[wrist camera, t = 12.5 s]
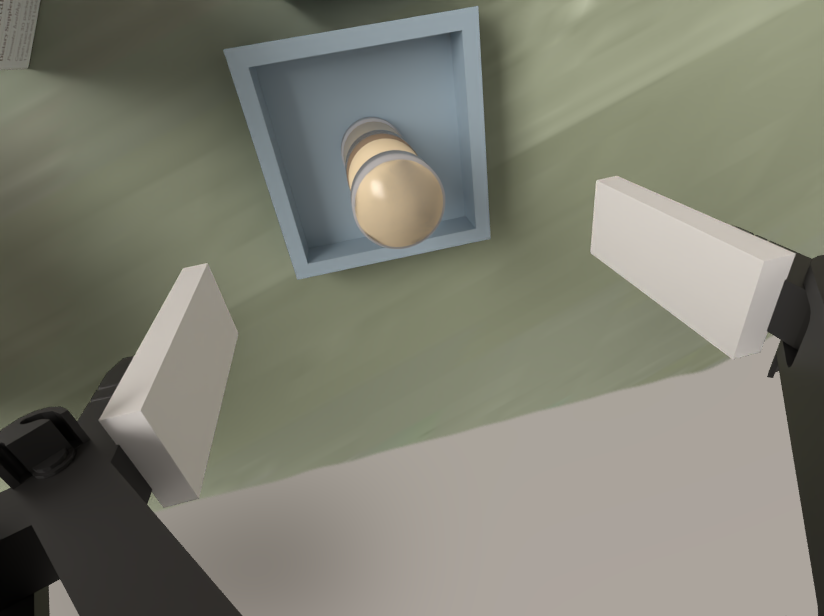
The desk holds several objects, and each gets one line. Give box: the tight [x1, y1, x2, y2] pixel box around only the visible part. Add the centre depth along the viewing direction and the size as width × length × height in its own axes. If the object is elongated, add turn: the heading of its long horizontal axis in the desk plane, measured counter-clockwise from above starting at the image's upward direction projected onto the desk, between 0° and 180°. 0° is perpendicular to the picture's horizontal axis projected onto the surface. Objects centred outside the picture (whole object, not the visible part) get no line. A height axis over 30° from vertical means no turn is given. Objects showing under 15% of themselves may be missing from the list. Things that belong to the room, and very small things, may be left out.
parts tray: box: [223, 6, 490, 280], centre depth 29 cm, size 14×14×4 cm
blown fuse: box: [341, 117, 445, 249], centre depth 25 cm, size 4×4×12 cm
